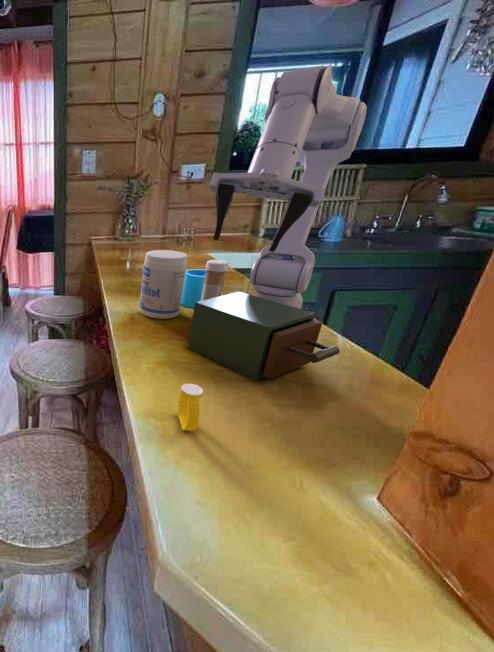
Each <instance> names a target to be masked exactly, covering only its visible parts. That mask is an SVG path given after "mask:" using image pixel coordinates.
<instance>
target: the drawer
mask: <svg viewBox="0 0 494 652" xmlns="http://www.w3.org/2000/svg"><path fill="white" fill-rule="evenodd" d="M303 323H304V321H302V322H298V323H295V324H292V325H289V326H286V327H283V328H279V329H276V330H273V331H271V334H270V338H269V342H268V346H267V350H266V354H265V358H264V362H263V366H262V368H265V369H264V373H263V376H264V377H263V378H265V379H268V380H270V379H274V378H276V377H278V376H280V375H283V374H286V373H288V372H291V371H294V370H296V369H298V368H301V367H304V366H306V365H308V364H310V363H312V364H317V363H319V362H321V361H324V360H326V359H329V358H331V357H333V356H336V355H339V354H340V351H341V349H340V348H339V347H338V346H337V345H332V346H327V345H325V344H321V343H320V342H319V343H318V342H317V341H318V340H319V339H318V338H319V335H320V332H321V330H322V329H321V328H322V326H323V323H324V322H323V321H321V320H317V319H314V320H313V321H310V322H307V323H304V324H303ZM315 349H320V350H319V351H316V352H314V351H315Z"/></svg>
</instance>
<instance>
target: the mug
mask: <svg viewBox="0 0 494 652" xmlns="http://www.w3.org/2000/svg"><path fill="white" fill-rule="evenodd" d="M205 275H206V268H205V269H203V268H192V269H186V272H185V278H184V285H183V291H182V297H181V303H180V305H182V306H184V307H186V308H192V309H194V307H195V302H198V301H201V298H202V292H203V286H204V281H205Z"/></svg>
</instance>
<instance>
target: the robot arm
mask: <svg viewBox="0 0 494 652" xmlns="http://www.w3.org/2000/svg"><path fill="white" fill-rule="evenodd" d="M332 65H333V64H329V65H326V66H325V65H323V64H322V65H318V66H311V67H306V68H299V69H293V70H288V71H284V72H282V74H281V75H280V76H277V77H276V78H275V79H274V81H273V82H272V84H271V88H270V91H269V98H268V104H267V107H266V111H265V113H264V114H265V116H264V126H263V129H262V131H261V135H260V137H259V140H258V142H257V146H256V148H255V151H254V154H253V157H252V159H251V161H250V165H249V167H248V170H247V172H229V173H226V172H223V173H222V172H213V175H212V177H211V180H210V182H209V189H208V191H209V192H215V194H214V204H215V213H216V215H215V219H216V222H215V231H214V234H213V241H219V239H220V237H221V233H222V230H223V227H224V222H225V219H226V217H227V214H228V211H229V209H230V207H231V204H232V201H233V197H234V193H235V194H242V195H249V196H253V197H256V198H262V199H274V200H280V201H287V202H288V203H287V205H286V208H285V209H284V211H283V213H282V216H281V220H280V222H279V225H278V228H277V230H276V233H275V235H274V237H273V239H272V241H271V243H270V244H268V245H266V246H265V247H262V249H261V250H260V252H259V254H258V256H257V258H256V259H255V261H254V262H253V265H252V266H251V270H250V274H249V275H250V276H249V280H250V283H251V286H253V287H254V288H253V290H254V291H255V295H254V296H256V297H260V298H263V299H267V300H270V301H274V302H277V303H281V304H285V305H288V306H292V307H295V308H299V309H302V307H303V303H304V299H303V296H302V294H303V292H305V291H306V290H307V289H308V286H309V284H310V281H311V278H312V275H313V272H314V266H315V264H316V257H315V253H314V252H313V251H312V250H311V249H310V248H309V247H308V246H306V242H307V240H308V237H309V234H310V231H311V229H312V226H313V223H314V221H315V218H316V215H317V212H318V210H319V208H320V204H321V202H322V200H323V197H324V194H325V192H326V189H327V186H328V183H329V181H330V178H331V177H332V175H333V173H334V171H335V169H336V167H338V166H337V165H339V164H340V163H342V162H344V161H346V160H348V159H350V158H351V156H352V153H353V152H354V150H355V148H356V145H357V143H358V140H359V137H360V134H361V132H362V130H363V127H364V123H365V120H366V115H367V112H368V111H367V109H368V107H367V105H366V103H365V102H364V101H361V98H359V97H353V96H345V95H340V94H337V89H336V87H335V84H334V83H333V76H332V75H333V66H332ZM298 162H299V163H301V164H302V165H303V168H304V171H303V173H302V176H301V179H300V180H297V179H294V178H292V177H293V174H294V171H295V168H296V165H297V163H298Z"/></svg>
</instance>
